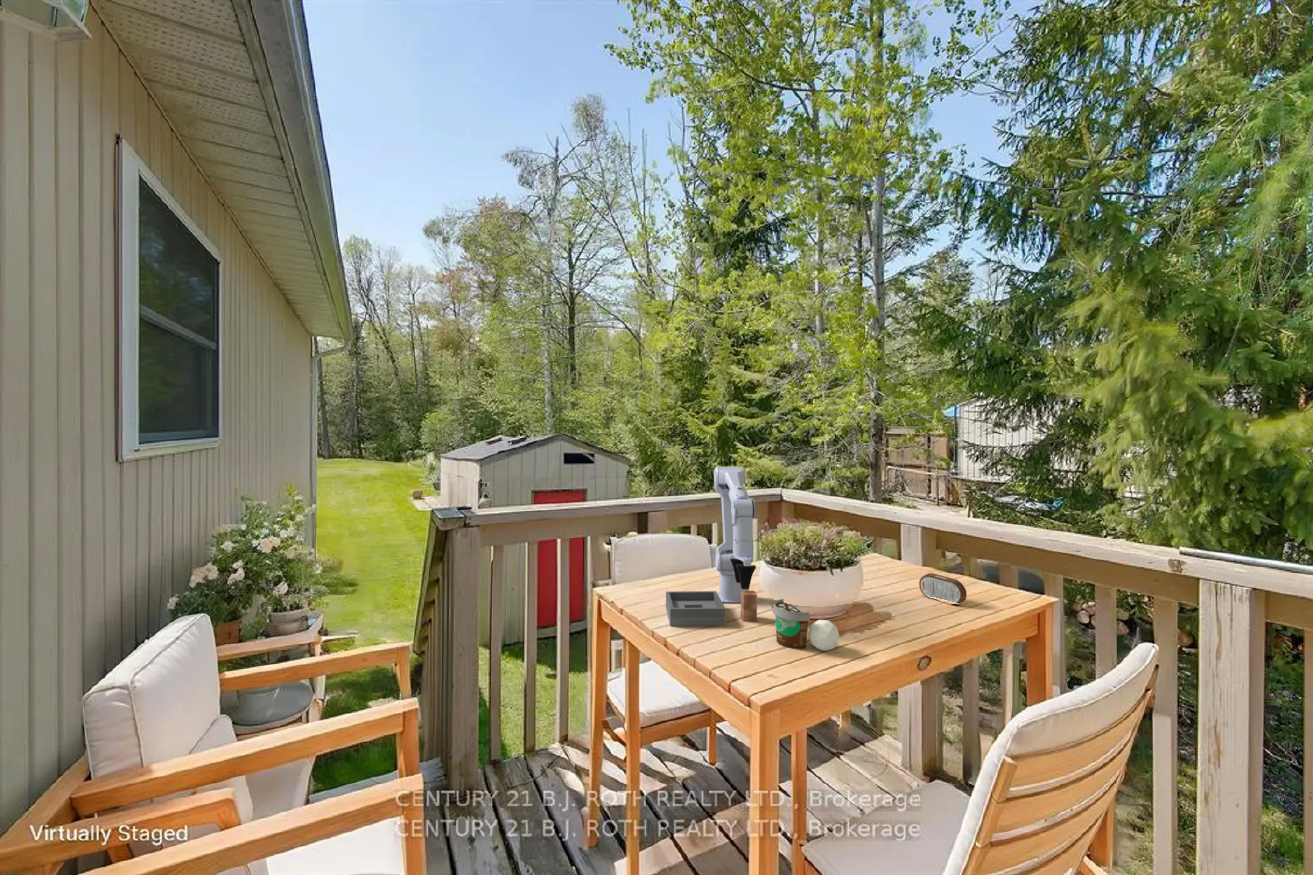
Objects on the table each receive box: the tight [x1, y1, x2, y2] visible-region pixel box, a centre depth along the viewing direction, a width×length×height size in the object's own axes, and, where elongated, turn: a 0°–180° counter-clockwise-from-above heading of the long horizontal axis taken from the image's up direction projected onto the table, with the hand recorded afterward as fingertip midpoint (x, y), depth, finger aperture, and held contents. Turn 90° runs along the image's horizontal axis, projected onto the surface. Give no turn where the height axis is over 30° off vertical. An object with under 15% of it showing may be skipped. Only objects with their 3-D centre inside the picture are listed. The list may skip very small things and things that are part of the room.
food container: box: [772, 598, 811, 650], centre depth 154 cm, size 12×6×10 cm, turn 23°
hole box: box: [665, 590, 726, 627], centre depth 174 cm, size 16×16×5 cm
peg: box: [740, 590, 758, 623], centre depth 171 cm, size 4×4×8 cm
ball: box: [807, 619, 840, 652], centre depth 151 cm, size 8×8×8 cm
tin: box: [918, 572, 968, 604], centre depth 190 cm, size 15×3×8 cm, turn 34°
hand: (742, 585), depth 170 cm, fingers open, 7 cm apart
